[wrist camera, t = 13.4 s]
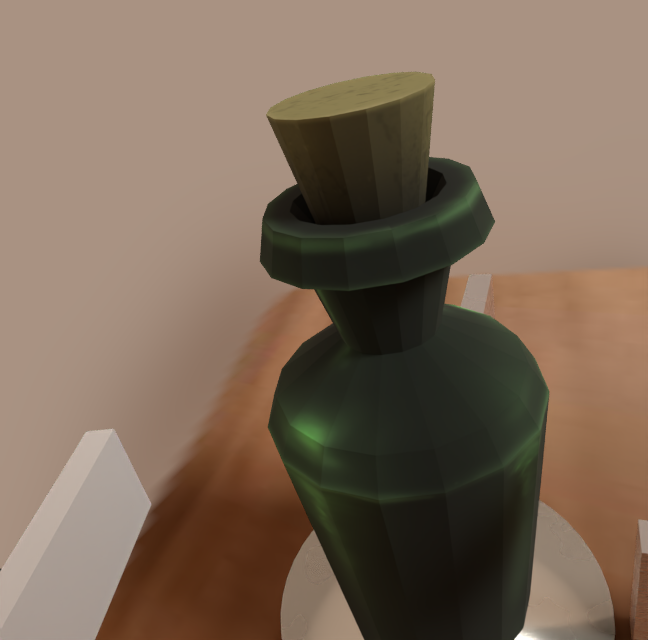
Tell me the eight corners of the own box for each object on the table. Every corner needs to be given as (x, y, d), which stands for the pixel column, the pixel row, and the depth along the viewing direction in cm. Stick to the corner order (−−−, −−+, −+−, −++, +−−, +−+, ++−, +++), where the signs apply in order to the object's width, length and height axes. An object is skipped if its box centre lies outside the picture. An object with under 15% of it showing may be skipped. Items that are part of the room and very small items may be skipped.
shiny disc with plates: (485, 342, 36) (479, 269, 34) (1096, 666, 17) (1187, 550, 14) (195, 507, 29) (161, 430, 27) (664, 1350, 10) (696, 1354, 8)
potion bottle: (351, 738, 19) (151, 190, 10) (317, 533, 26) (183, 106, 17) (601, 671, 19) (628, 72, 10) (499, 486, 26) (462, 38, 17)
